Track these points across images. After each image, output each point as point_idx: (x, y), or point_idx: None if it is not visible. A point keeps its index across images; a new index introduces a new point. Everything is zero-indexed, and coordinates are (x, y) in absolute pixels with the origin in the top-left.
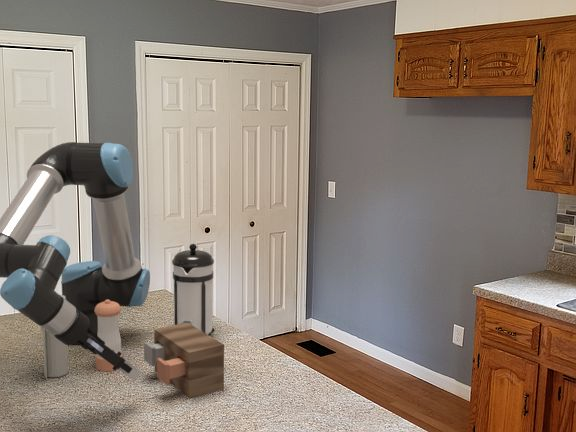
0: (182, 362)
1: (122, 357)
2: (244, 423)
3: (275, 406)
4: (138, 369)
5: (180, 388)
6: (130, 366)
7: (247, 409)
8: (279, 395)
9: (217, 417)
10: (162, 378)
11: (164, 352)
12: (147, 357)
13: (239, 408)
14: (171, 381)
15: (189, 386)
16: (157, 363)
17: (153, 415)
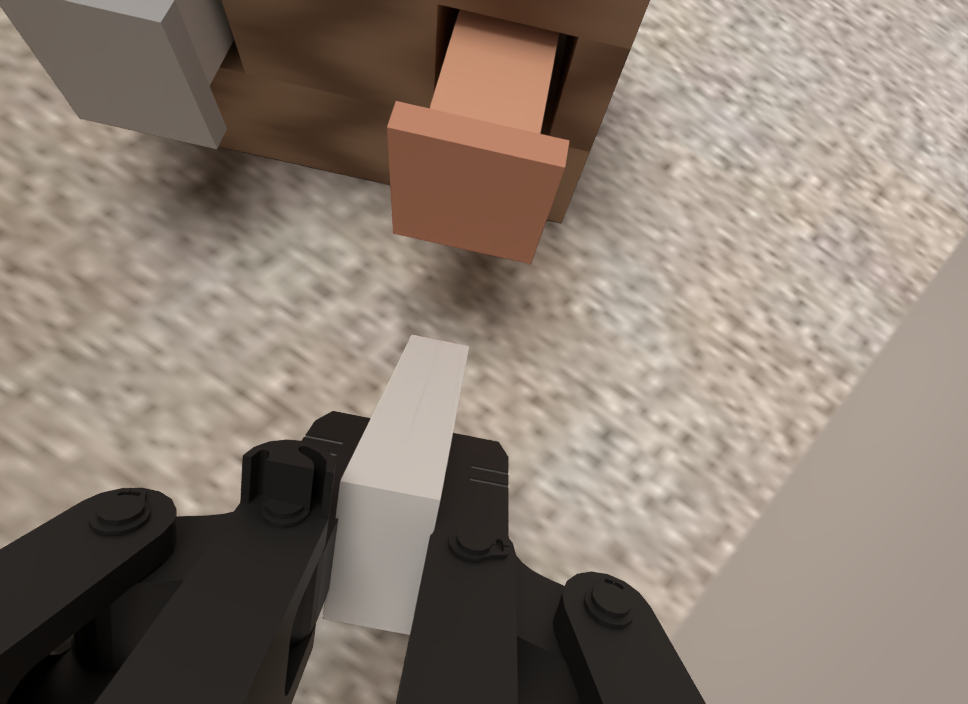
0: (547, 58)
1: (490, 550)
2: (919, 229)
3: (849, 70)
4: (425, 347)
5: None
6: (454, 436)
7: (814, 143)
8: (777, 6)
9: (812, 264)
10: (483, 238)
11: (210, 3)
12: (118, 98)
13: (788, 156)
14: (355, 165)
15: (578, 176)
16: (401, 159)
17: (603, 466)
